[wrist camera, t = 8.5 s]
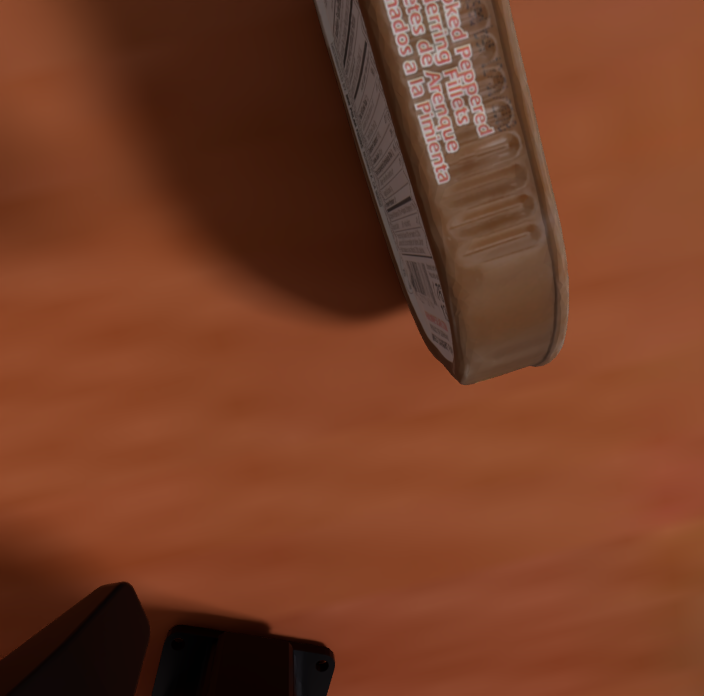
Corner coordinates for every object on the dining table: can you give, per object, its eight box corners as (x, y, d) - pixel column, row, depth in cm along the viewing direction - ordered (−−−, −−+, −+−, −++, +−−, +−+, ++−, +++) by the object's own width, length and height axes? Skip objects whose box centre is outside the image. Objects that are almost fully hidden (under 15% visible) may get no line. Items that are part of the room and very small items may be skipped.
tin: (485, 336, 19) (632, 395, 11) (406, 364, 19) (494, 445, 11) (362, -112, 16) (436, -489, 8) (266, -83, 16) (242, -440, 8)
